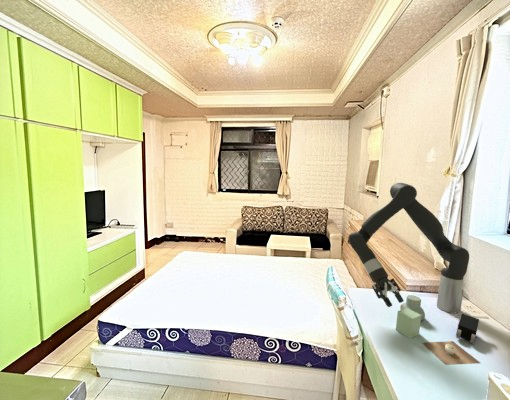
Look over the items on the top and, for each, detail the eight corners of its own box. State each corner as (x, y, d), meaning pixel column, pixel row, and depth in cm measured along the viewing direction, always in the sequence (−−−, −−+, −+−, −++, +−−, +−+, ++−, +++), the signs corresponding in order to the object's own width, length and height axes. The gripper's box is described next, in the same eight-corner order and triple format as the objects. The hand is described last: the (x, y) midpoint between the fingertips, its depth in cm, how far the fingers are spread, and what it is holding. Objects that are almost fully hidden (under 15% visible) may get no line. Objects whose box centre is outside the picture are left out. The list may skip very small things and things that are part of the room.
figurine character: (474, 353, 105) (477, 333, 116) (477, 336, 103) (480, 317, 114) (453, 345, 109) (458, 326, 120) (455, 329, 108) (460, 311, 119)
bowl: (449, 349, 103) (450, 344, 103) (456, 354, 100) (457, 349, 100) (442, 349, 103) (443, 344, 102) (449, 355, 100) (449, 349, 100)
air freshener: (426, 325, 120) (428, 304, 119) (406, 322, 122) (408, 302, 121) (416, 312, 131) (418, 293, 130) (398, 310, 133) (400, 291, 131)
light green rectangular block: (403, 326, 118) (406, 307, 117) (418, 334, 112) (421, 314, 111) (395, 330, 115) (397, 311, 113) (410, 339, 109) (413, 318, 108)
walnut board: (452, 343, 108) (453, 341, 108) (480, 365, 96) (480, 362, 96) (420, 344, 107) (421, 342, 107) (445, 367, 95) (445, 364, 95)
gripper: (371, 269, 119) (393, 305, 111) (390, 264, 127) (411, 297, 118) (360, 276, 124) (380, 310, 116) (379, 271, 132) (399, 303, 123)
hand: (396, 304), depth 117 cm, fingers open, 8 cm apart
